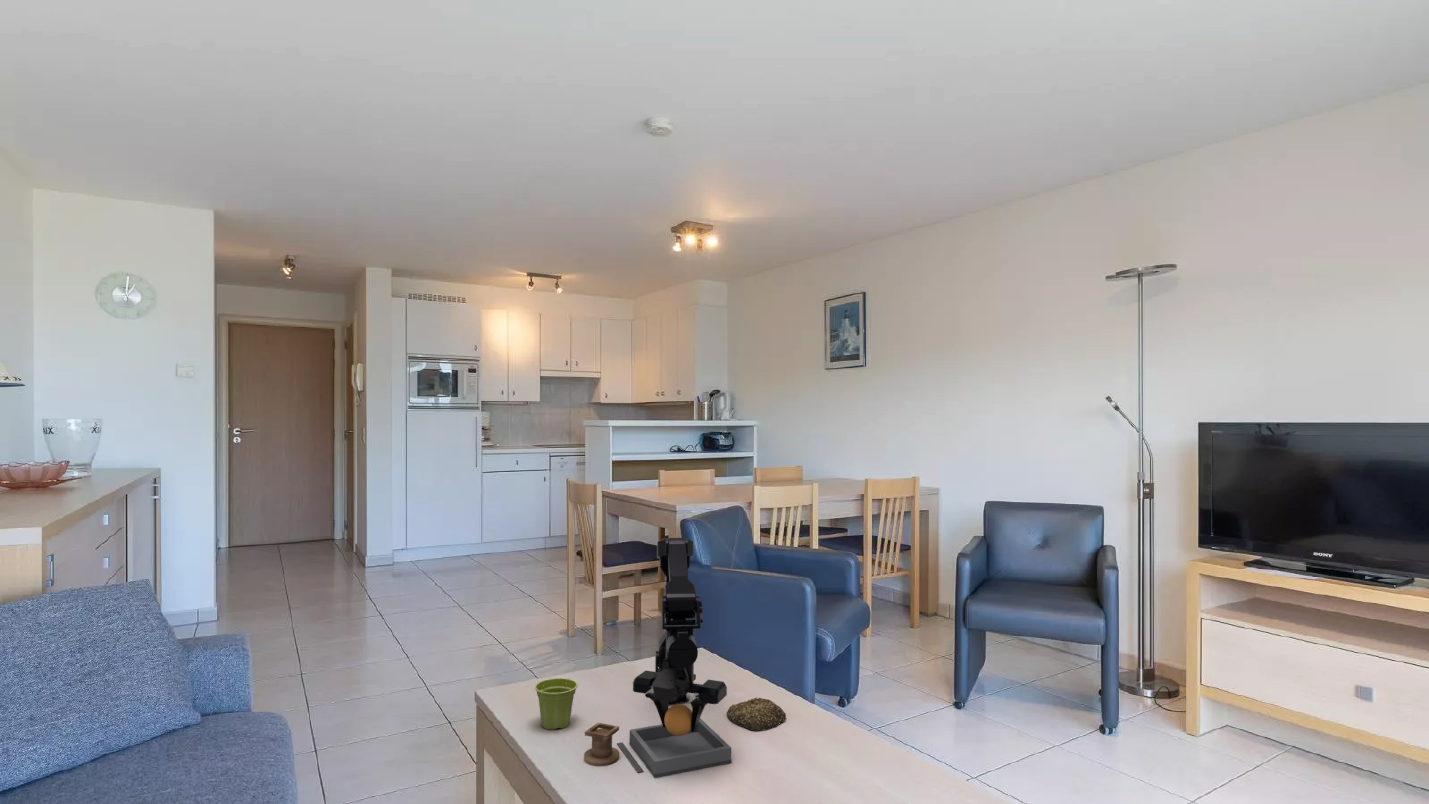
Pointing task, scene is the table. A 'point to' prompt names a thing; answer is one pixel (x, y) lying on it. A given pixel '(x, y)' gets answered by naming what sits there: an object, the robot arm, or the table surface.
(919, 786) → the table surface
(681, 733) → the ball
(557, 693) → the plant pot
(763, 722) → the brown speckled mound
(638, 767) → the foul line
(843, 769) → the table surface
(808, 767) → the table surface
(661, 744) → the grey square tray
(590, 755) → the tee
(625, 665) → the table surface
